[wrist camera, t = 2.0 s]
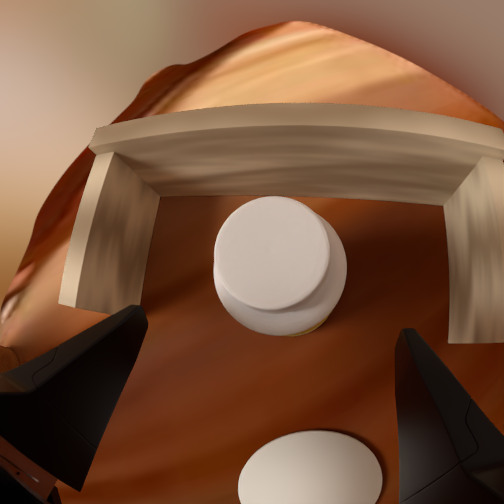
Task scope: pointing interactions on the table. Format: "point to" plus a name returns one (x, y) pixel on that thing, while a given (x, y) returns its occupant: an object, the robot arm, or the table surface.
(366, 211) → the table surface
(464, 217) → the wooden u-shaped barrier
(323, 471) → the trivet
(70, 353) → the robot arm
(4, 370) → the disposable coffee cup
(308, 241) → the supplement bottle
